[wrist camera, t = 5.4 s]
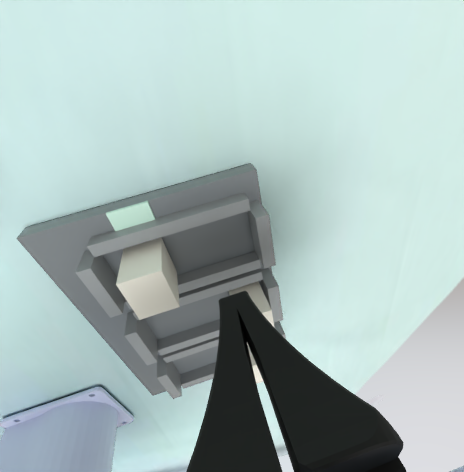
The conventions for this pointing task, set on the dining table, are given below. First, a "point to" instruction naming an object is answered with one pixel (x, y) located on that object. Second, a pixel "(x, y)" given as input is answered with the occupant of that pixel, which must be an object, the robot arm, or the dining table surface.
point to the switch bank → (185, 262)
